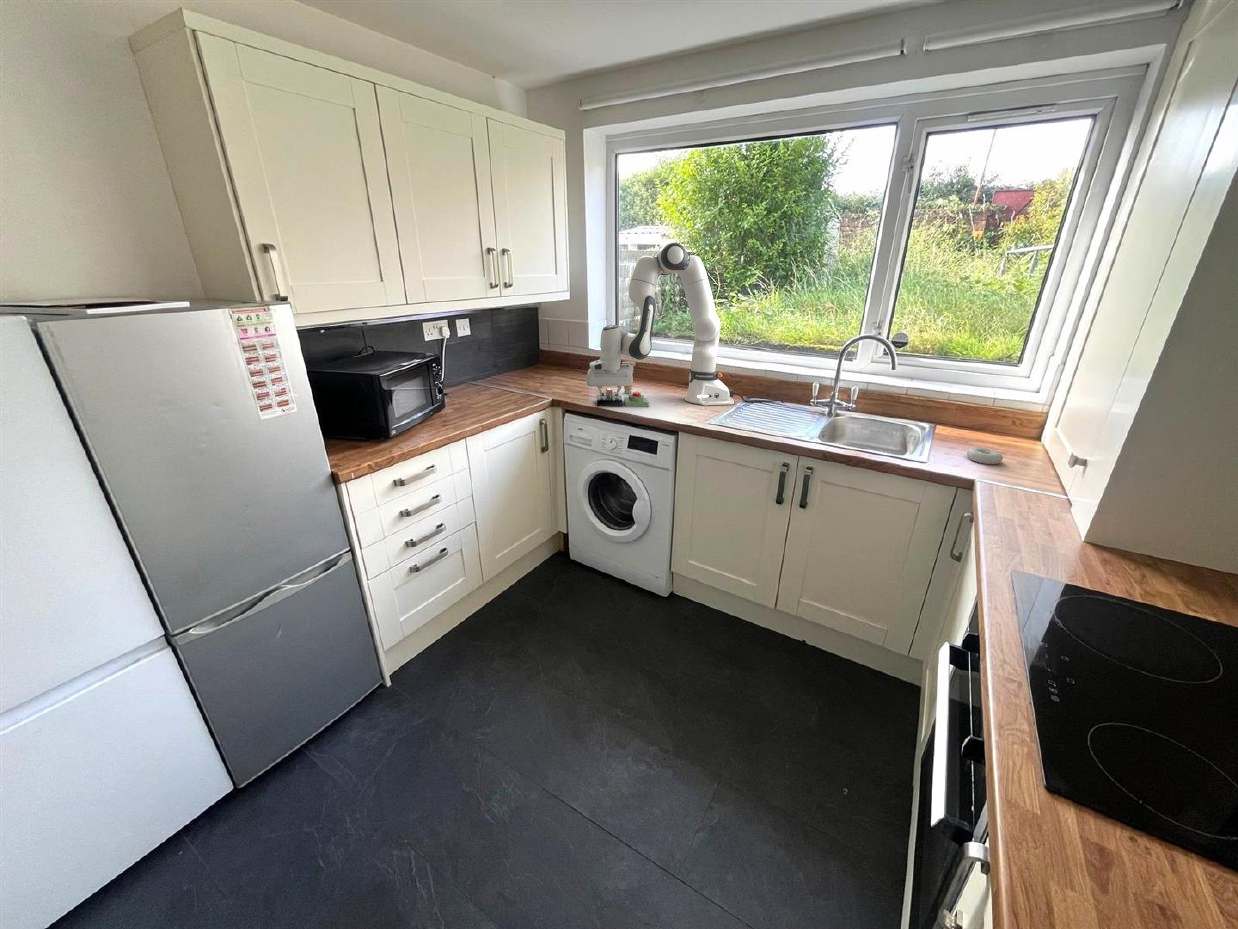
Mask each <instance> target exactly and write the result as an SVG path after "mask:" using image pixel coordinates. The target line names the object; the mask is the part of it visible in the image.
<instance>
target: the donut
mask: <svg viewBox="0 0 1238 929" xmlns="http://www.w3.org/2000/svg"><path fill="white" fill-rule="evenodd" d="M966 456H967V458H968V459H969V460H971V461H973V462H975V463H980V464H985V465H998V464H1000V463H1002V461H1003V460H1004V456H1003V454H1001V453H1000V452H999V451H997V450H994V449H991V448H986V447H971V448H969V449H968V450H967V451H966Z"/></svg>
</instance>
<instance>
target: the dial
mask: <svg viewBox="0 0 1238 929" xmlns="http://www.w3.org/2000/svg"><path fill="white" fill-rule="evenodd" d="M605 389H606V390H605V392H606V393H605V395H606V396H607V397H608V398H609V399H613V395H614V394H613V393H614V391H613V389H611V387H605Z"/></svg>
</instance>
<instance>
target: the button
mask: <svg viewBox="0 0 1238 929" xmlns="http://www.w3.org/2000/svg"><path fill="white" fill-rule="evenodd" d="M631 394H632V396H633V397H640V396H641V395H642V393H641V392H640V391H632V392H631Z"/></svg>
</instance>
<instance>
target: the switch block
mask: <svg viewBox="0 0 1238 929" xmlns="http://www.w3.org/2000/svg"><path fill="white" fill-rule="evenodd" d="M623 402H624V407H630V408H631V407H633V408H635V407H636V408H649V400H648V398H647V397H645V396H644V394H641V396H640V397H633V396H632V393H631V394H628V397H627V396H625V397H624V398H623Z"/></svg>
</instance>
